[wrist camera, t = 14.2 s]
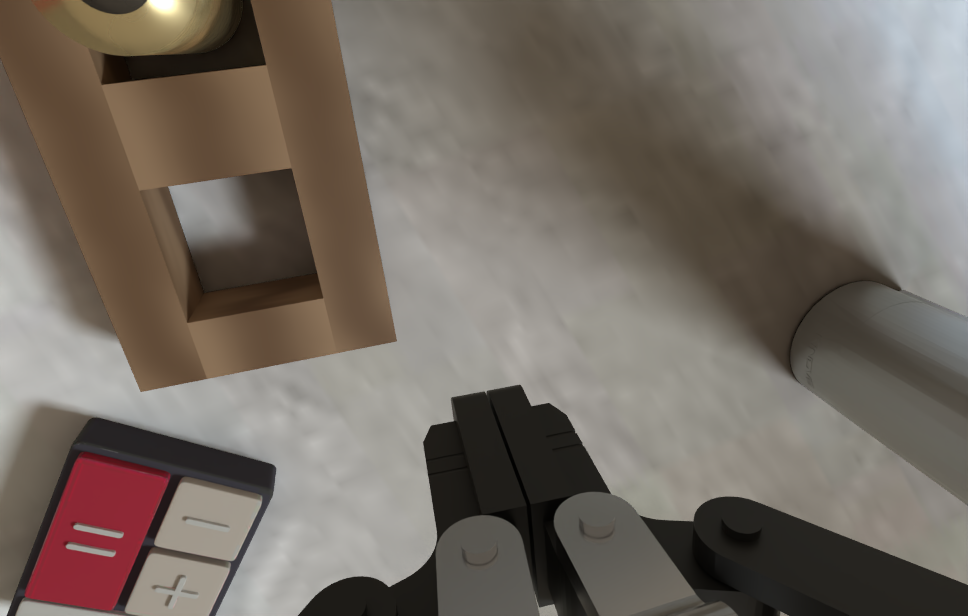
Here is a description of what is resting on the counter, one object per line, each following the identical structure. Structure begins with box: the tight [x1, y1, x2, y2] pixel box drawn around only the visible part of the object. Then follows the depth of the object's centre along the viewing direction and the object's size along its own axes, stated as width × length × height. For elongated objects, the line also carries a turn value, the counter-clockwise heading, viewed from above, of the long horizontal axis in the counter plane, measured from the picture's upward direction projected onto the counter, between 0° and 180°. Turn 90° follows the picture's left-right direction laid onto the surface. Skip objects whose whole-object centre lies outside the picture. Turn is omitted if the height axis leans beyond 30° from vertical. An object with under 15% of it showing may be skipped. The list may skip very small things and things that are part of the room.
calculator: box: [7, 418, 276, 616], centre depth 36 cm, size 11×4×15 cm
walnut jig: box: [0, 0, 397, 392], centre depth 27 cm, size 13×24×4 cm, turn 6°
